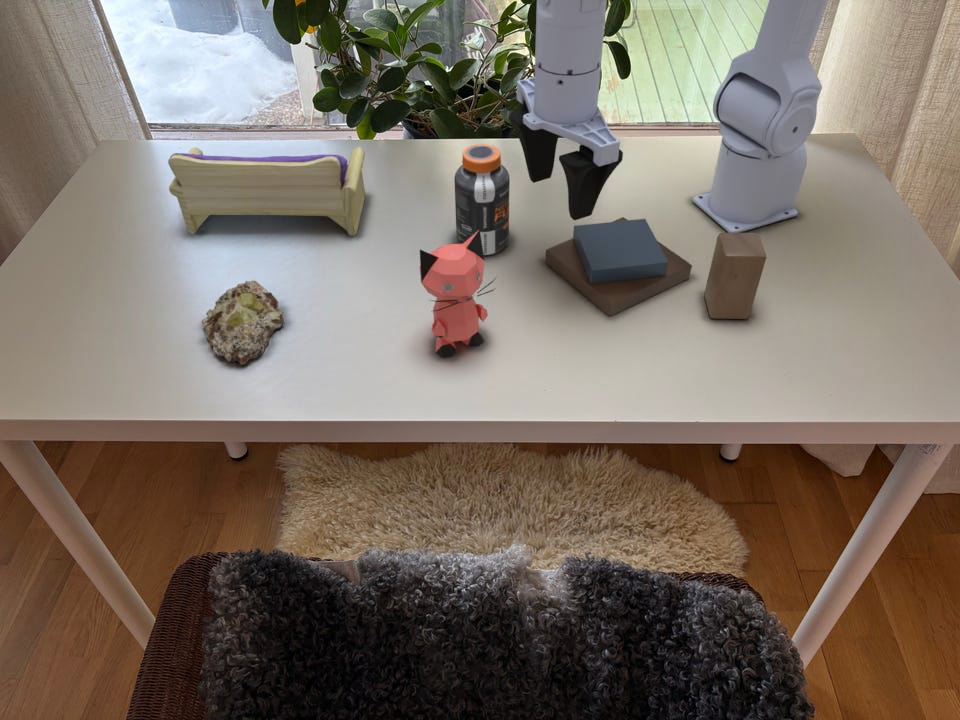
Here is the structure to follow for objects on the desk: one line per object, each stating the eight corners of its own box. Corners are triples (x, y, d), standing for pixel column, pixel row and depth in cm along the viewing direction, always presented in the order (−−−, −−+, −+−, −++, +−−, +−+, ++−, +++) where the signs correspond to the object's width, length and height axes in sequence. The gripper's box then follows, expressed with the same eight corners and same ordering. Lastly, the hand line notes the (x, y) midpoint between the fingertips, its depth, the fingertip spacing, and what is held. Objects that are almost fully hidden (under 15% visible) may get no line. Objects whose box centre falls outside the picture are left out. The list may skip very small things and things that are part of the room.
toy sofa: (371, 196, 96) (361, 118, 88) (362, 237, 89) (349, 157, 82) (204, 196, 96) (180, 119, 89) (183, 237, 90) (155, 158, 83)
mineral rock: (198, 284, 80) (269, 260, 79) (220, 313, 83) (289, 290, 82) (185, 358, 72) (264, 333, 72) (210, 387, 76) (286, 363, 75)
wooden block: (709, 319, 78) (725, 255, 72) (702, 294, 81) (717, 230, 75) (749, 320, 78) (768, 256, 72) (741, 295, 81) (759, 231, 75)
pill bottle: (503, 259, 86) (504, 169, 78) (451, 254, 87) (446, 164, 79) (513, 229, 90) (514, 140, 82) (463, 224, 91) (459, 135, 83)
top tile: (643, 232, 86) (645, 218, 85) (665, 276, 80) (668, 262, 79) (572, 239, 85) (573, 225, 84) (590, 284, 80) (592, 270, 78)
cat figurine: (439, 373, 73) (431, 272, 65) (408, 331, 78) (397, 231, 69) (504, 347, 76) (504, 247, 67) (470, 308, 80) (467, 209, 72)
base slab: (621, 229, 89) (623, 216, 88) (689, 278, 83) (692, 265, 82) (545, 262, 85) (545, 249, 84) (610, 316, 79) (611, 303, 77)
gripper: (488, 41, 70) (490, 173, 80) (573, 105, 61) (564, 246, 71) (554, 26, 73) (548, 156, 82) (647, 85, 63) (628, 224, 73)
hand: (560, 196), depth 77 cm, fingers open, 7 cm apart
